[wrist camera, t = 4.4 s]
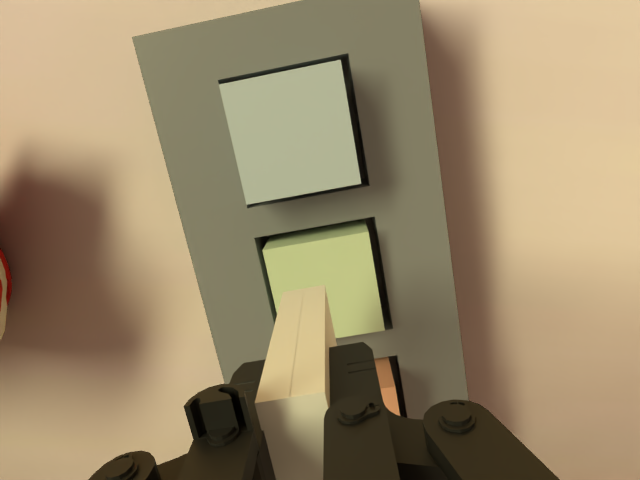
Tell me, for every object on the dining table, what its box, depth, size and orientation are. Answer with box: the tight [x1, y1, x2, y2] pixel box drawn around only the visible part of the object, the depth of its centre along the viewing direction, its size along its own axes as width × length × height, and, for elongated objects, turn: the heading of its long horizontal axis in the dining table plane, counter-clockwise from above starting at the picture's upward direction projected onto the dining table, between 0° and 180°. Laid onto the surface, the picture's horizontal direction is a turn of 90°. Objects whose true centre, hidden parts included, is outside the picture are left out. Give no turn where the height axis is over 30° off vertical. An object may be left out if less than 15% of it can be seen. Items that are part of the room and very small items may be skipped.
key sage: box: [262, 219, 385, 338], centre depth 20 cm, size 4×4×3 cm
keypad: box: [132, 0, 469, 420], centre depth 22 cm, size 11×29×3 cm, turn 11°
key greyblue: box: [219, 60, 361, 205], centre depth 18 cm, size 4×4×3 cm
